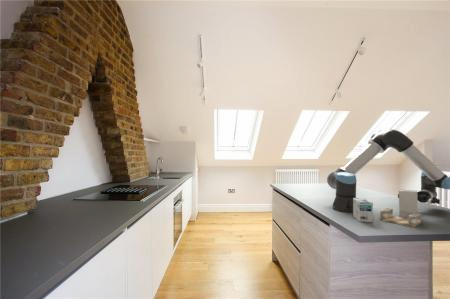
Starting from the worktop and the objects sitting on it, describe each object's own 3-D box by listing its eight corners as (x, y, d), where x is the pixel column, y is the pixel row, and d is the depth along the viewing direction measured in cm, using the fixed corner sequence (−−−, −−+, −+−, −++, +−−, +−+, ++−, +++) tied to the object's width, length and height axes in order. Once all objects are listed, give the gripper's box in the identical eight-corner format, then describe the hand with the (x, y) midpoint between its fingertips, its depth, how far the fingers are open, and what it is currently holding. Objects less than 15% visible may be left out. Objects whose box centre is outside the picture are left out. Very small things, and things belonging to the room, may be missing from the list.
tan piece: (379, 219, 127) (379, 210, 127) (388, 216, 134) (388, 207, 134) (413, 227, 115) (414, 217, 115) (421, 223, 122) (421, 213, 122)
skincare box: (417, 218, 132) (418, 190, 132) (417, 220, 127) (417, 192, 127) (399, 215, 138) (399, 188, 138) (398, 217, 133) (398, 190, 133)
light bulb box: (373, 222, 122) (373, 202, 122) (359, 221, 123) (359, 201, 123) (365, 217, 132) (365, 198, 132) (352, 216, 134) (352, 197, 134)
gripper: (450, 205, 141) (441, 211, 128) (400, 198, 161) (389, 202, 148) (450, 193, 141) (442, 197, 128) (400, 187, 161) (389, 190, 148)
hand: (413, 200), depth 138 cm, fingers open, 13 cm apart
